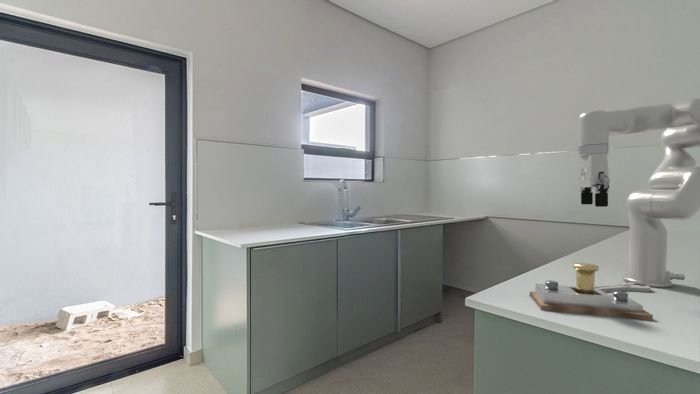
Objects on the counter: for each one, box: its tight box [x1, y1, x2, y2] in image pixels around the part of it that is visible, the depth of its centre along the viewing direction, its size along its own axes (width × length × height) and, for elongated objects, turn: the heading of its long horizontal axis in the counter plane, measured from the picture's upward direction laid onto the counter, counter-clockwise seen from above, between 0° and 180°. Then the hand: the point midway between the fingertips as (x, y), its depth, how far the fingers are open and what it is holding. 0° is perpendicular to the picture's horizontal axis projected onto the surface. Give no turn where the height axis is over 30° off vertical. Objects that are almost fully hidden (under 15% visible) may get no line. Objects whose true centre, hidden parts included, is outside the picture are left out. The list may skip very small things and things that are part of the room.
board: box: [529, 291, 654, 321], centre depth 88 cm, size 24×12×1 cm, turn 74°
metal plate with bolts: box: [534, 279, 644, 312], centre depth 88 cm, size 22×8×5 cm, turn 74°
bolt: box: [572, 262, 600, 295], centre depth 88 cm, size 6×6×10 cm
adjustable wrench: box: [594, 281, 651, 293], centre depth 104 cm, size 25×6×2 cm, turn 95°
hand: (593, 205), depth 104 cm, fingers open, 9 cm apart
